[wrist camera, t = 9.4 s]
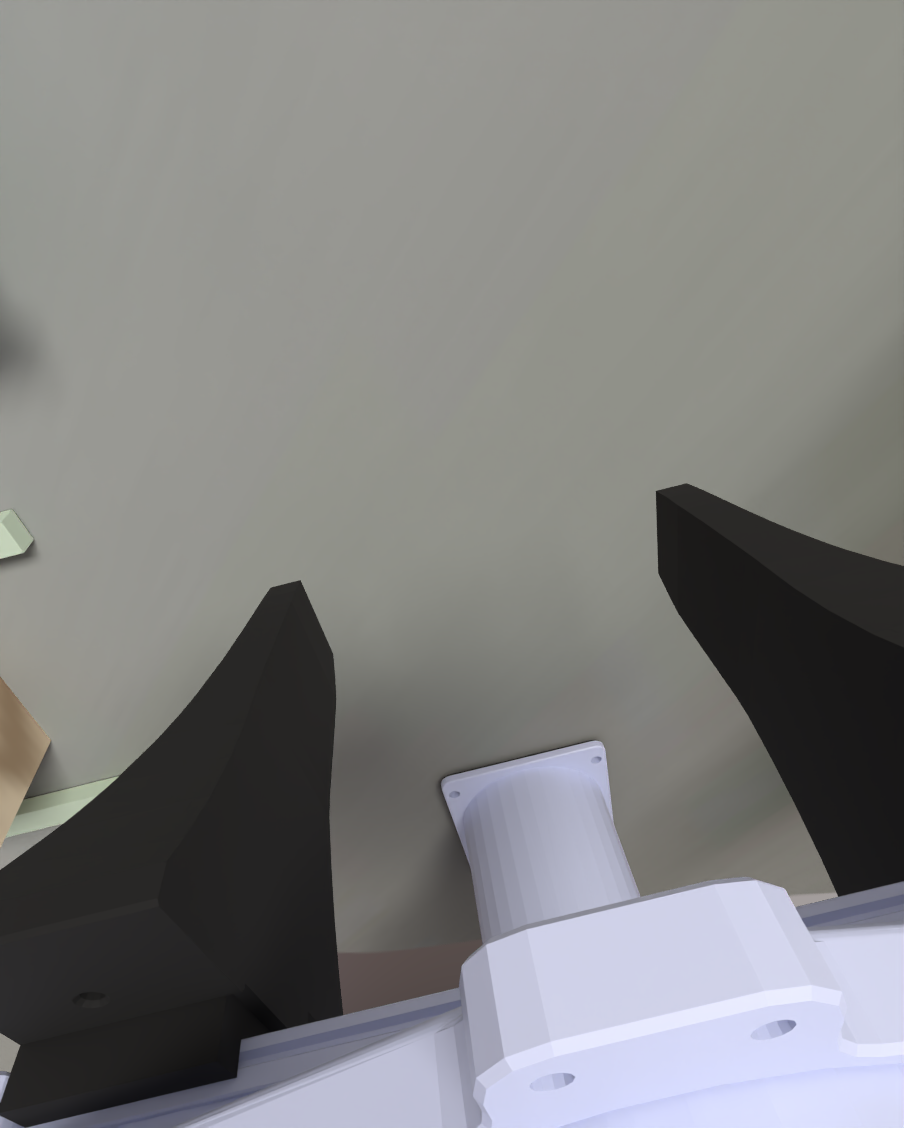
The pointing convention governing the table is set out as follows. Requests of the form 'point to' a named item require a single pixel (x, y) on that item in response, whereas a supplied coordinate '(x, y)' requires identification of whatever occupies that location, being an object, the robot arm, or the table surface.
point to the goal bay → (6, 539)
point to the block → (17, 755)
